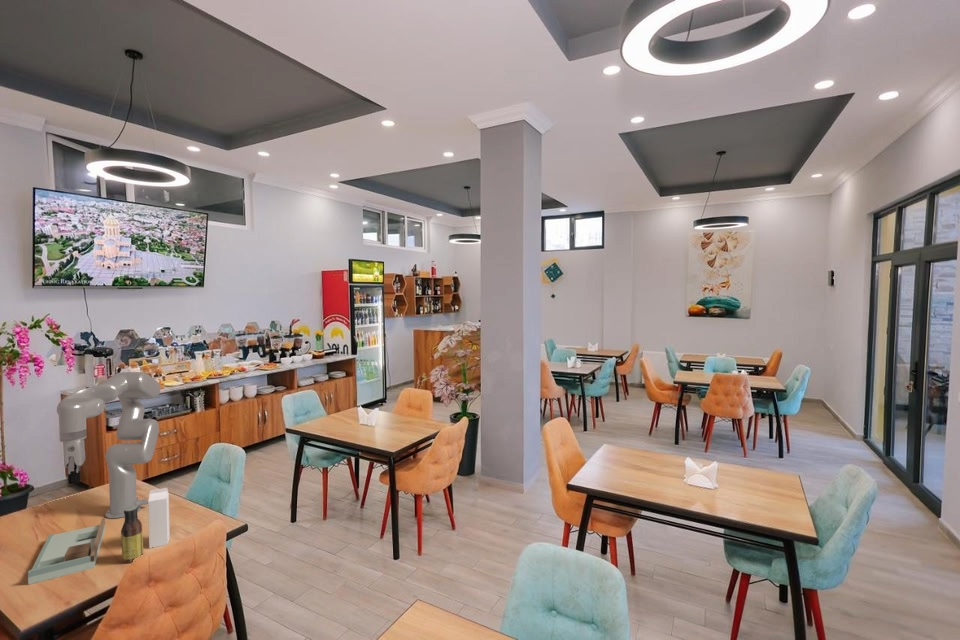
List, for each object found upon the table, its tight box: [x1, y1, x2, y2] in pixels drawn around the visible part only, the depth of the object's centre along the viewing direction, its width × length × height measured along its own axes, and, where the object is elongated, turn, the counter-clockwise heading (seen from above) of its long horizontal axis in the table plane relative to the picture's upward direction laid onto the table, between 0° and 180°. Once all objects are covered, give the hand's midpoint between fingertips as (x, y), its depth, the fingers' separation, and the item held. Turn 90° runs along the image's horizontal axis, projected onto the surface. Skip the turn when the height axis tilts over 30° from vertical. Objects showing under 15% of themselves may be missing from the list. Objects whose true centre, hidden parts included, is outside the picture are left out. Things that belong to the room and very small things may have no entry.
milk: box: [147, 487, 171, 549], centre depth 176 cm, size 6×6×22 cm
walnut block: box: [65, 542, 91, 561], centre depth 160 cm, size 6×6×4 cm
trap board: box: [27, 517, 106, 586], centre depth 168 cm, size 17×32×5 cm, turn 35°
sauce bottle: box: [120, 506, 144, 564], centre depth 165 cm, size 7×6×20 cm
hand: (74, 482), depth 168 cm, fingers closed
